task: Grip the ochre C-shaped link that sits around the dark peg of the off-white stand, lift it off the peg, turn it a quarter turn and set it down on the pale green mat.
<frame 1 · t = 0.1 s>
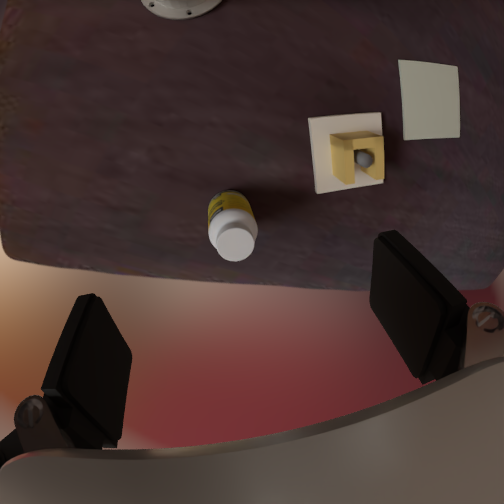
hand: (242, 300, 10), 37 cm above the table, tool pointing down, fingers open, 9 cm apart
c link: (350, 152, 44), point 1 cm above the table, touching stand
pill bottle: (228, 208, 48), on the table
mat: (432, 100, 42), on the table
stand: (347, 151, 45), on the table
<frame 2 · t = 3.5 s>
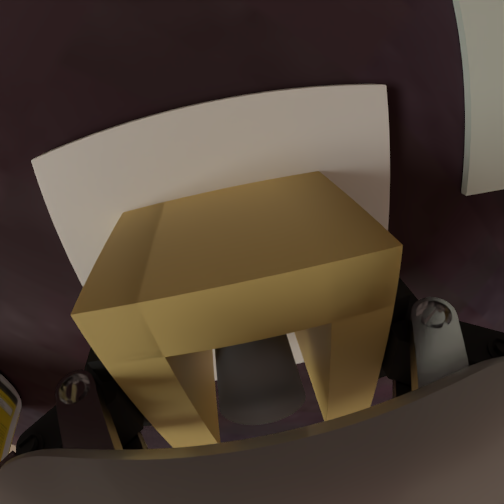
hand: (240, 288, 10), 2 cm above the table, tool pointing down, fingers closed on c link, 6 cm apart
c link: (237, 273, 11), point 1 cm above the table, touching gripper, stand
stand: (235, 259, 12), on the table
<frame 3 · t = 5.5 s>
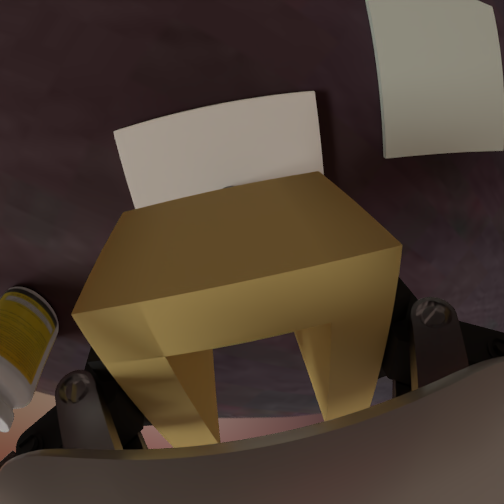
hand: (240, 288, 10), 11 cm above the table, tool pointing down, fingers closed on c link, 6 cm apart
c link: (237, 273, 11), point 10 cm above the table, touching gripper
pill bottle: (32, 311, 22), on the table
mat: (449, 66, 16), on the table
stand: (230, 195, 20), on the table
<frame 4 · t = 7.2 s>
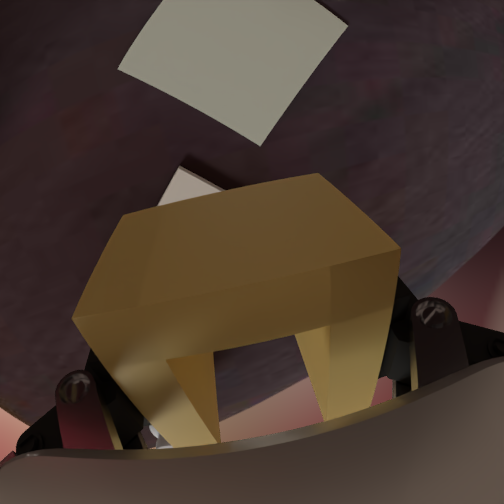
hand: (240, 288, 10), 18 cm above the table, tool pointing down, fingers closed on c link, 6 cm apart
c link: (237, 275, 11), point 17 cm above the table, touching gripper
mat: (235, 36, 20), on the table
stand: (204, 248, 30), on the table
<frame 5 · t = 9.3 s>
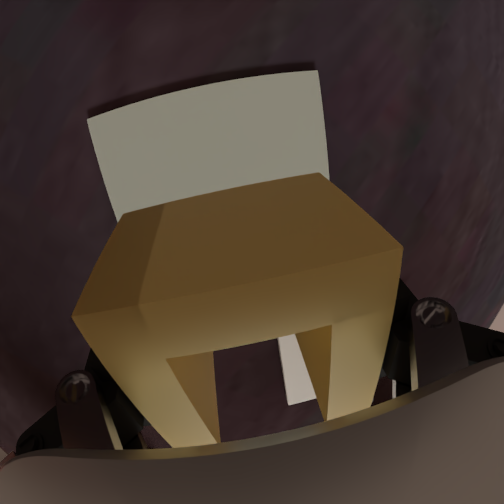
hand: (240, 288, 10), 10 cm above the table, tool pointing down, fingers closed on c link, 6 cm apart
c link: (238, 274, 11), point 9 cm above the table, touching gripper
mat: (221, 195, 19), on the table
stand: (340, 352, 29), on the table
when the fingers open (3 cm above the table, at t = 11.1 s): c link drops 1 cm, resting on mat.
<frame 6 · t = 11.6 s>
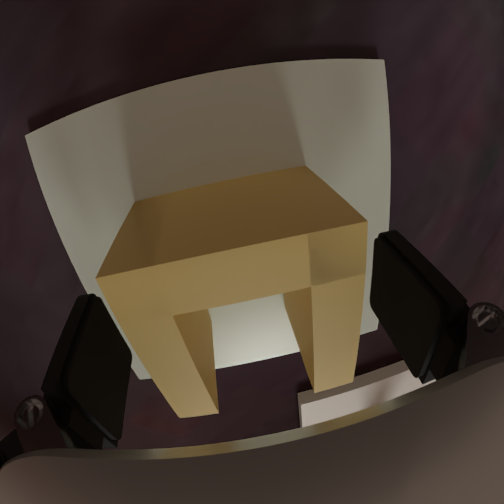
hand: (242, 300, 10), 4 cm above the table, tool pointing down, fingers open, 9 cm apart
c link: (235, 256, 13), resting on mat
mat: (233, 247, 13), on the table
stand: (367, 408, 22), on the table
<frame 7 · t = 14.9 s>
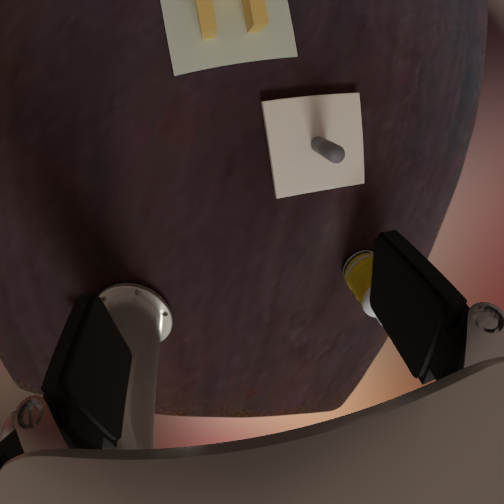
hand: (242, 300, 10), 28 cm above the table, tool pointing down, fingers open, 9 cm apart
c link: (227, 10, 26), resting on mat
pill bottle: (359, 265, 46), on the table
mat: (226, 9, 26), on the table
stand: (316, 142, 36), on the table
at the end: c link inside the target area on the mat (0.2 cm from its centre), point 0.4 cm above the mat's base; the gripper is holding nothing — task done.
